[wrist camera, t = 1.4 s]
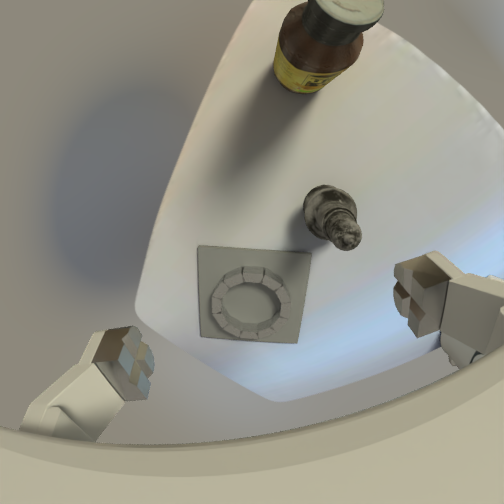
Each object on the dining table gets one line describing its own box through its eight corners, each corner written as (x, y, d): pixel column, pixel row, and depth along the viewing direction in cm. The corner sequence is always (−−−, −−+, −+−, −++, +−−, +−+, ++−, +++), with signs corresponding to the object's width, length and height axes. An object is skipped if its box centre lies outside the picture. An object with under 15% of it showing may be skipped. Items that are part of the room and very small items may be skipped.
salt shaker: (319, 239, 36) (341, 287, 25) (290, 202, 34) (302, 236, 23) (357, 211, 34) (395, 248, 23) (330, 172, 33) (362, 193, 22)
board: (311, 252, 37) (311, 254, 36) (296, 340, 42) (297, 343, 42) (198, 245, 37) (198, 247, 36) (201, 334, 42) (201, 336, 42)
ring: (293, 268, 37) (294, 276, 35) (284, 331, 41) (285, 340, 39) (214, 263, 37) (211, 270, 35) (214, 326, 41) (212, 335, 39)
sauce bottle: (301, 106, 30) (348, 71, 12) (261, 68, 28) (255, -9, 10) (340, 72, 28) (422, 15, 10) (301, 35, 27) (338, -59, 8)
